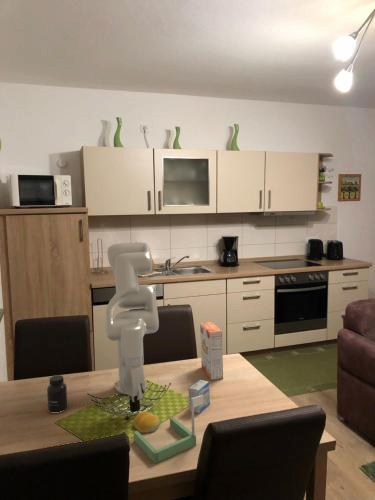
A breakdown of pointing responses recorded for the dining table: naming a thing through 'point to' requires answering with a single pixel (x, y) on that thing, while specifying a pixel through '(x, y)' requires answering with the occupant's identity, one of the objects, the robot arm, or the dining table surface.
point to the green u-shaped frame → (177, 446)
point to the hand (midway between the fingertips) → (134, 410)
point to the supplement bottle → (57, 394)
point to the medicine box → (200, 389)
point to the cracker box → (211, 350)
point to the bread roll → (146, 422)
